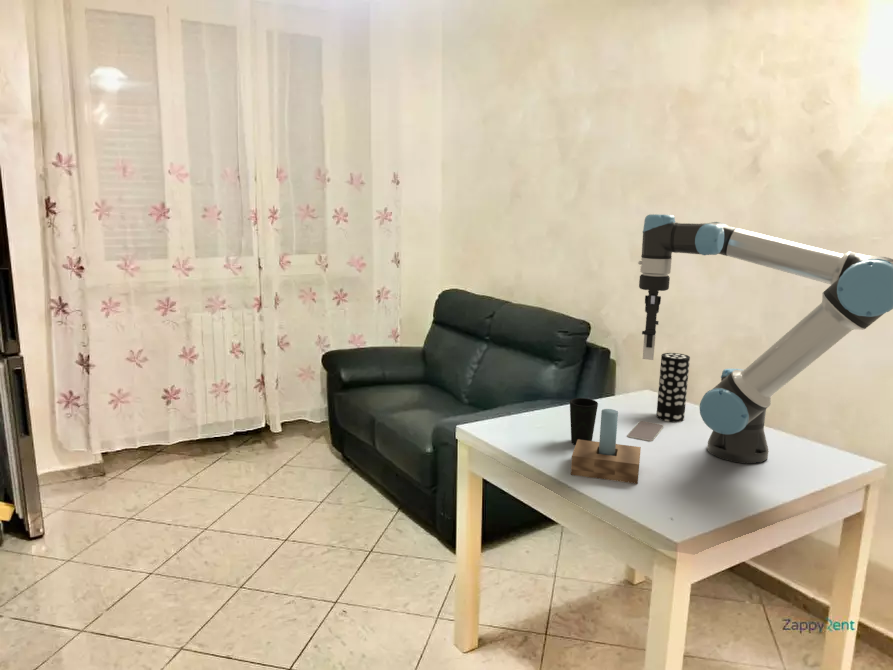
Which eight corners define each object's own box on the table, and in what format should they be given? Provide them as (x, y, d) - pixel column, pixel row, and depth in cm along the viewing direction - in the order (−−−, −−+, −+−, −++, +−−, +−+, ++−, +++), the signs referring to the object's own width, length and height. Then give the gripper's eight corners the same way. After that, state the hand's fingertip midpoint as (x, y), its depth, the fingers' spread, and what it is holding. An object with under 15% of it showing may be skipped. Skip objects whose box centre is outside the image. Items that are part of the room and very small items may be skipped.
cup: (595, 449, 181) (598, 407, 179) (567, 446, 183) (569, 405, 180) (595, 439, 189) (597, 399, 186) (567, 437, 190) (570, 397, 188)
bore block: (639, 465, 171) (640, 447, 170) (637, 484, 159) (639, 464, 158) (576, 457, 175) (577, 439, 174) (570, 474, 164) (571, 455, 163)
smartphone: (626, 435, 191) (639, 420, 204) (626, 438, 191) (639, 423, 204) (652, 440, 187) (664, 424, 200) (652, 443, 187) (664, 427, 200)
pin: (614, 462, 168) (618, 409, 165) (613, 468, 165) (617, 414, 162) (598, 460, 170) (602, 408, 167) (597, 466, 166) (600, 412, 163)
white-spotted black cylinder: (686, 416, 210) (692, 355, 206) (680, 424, 203) (686, 360, 199) (660, 411, 214) (665, 351, 210) (653, 418, 207) (658, 356, 203)
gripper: (641, 269, 186) (635, 342, 190) (638, 278, 162) (632, 362, 167) (669, 270, 184) (663, 345, 188) (670, 280, 160) (663, 365, 165)
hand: (648, 353), depth 177 cm, fingers open, 13 cm apart
